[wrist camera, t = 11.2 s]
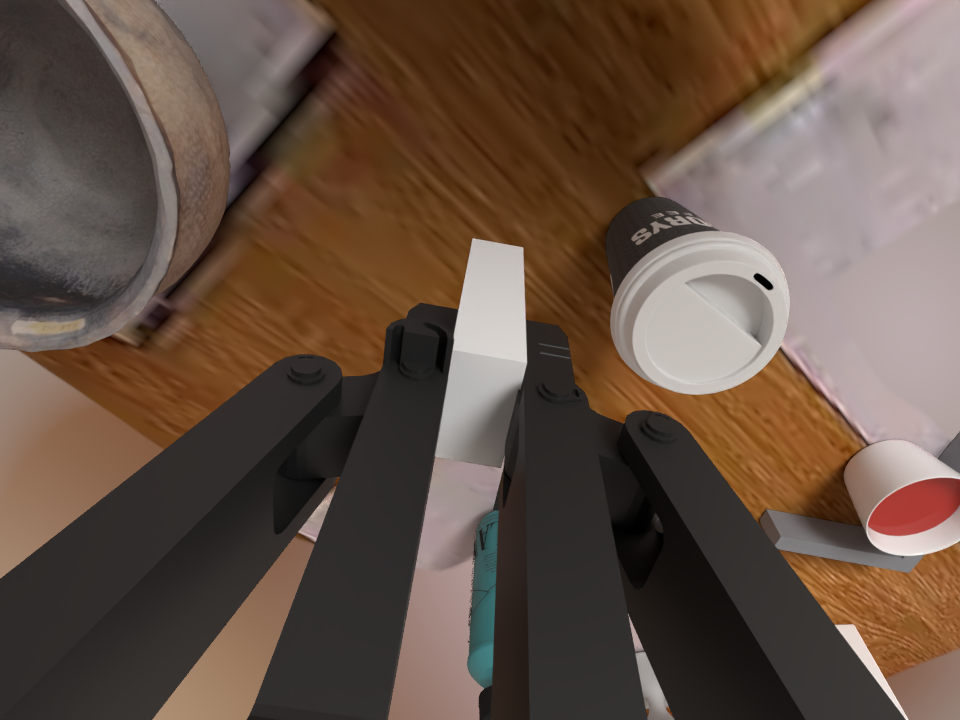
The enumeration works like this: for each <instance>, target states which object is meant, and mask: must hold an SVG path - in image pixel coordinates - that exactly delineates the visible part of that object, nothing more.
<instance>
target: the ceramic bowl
mask: <svg viewBox="0 0 960 720" xmlns="http://www.w3.org/2000/svg"><path fill="white" fill-rule="evenodd" d="M229 156H230V150H229V143H228V136H227V132H226V127H225V123H224V119H223V116H222V113H221V110H220V107H219V104H218V101H217V98H216V95H215V93H214V91H213V89H212V86H211V84H210V82H209V80H208V78H207V75H206V74H205V72H204V70H203V68H202V66H201V64H200V62H199V60H198V58H197V57H196V55H195V53H194V52H193V50H192V48H191V47H190V45H189V44H188V42H187V40H186V39H185V37H184V36H183V34H182V33H181V31H180V30H179V29H178V27H177V26H176V25H175V23H174V22H173V21H172V20H171V18H170V17H169V16H168V15H167V14H166V13H165V12H164V11H163V10H162V9H161V8H160V7H159V6H158V5H157V4H156V3H155V2H154V1H153V0H0V349H12V350H21V351H27V352H36V351H45V350H60V349H71V348H76V347H82V346H87V345H89V344H91V343H93V342H95V341H98V340H101V339H103V338H106V337H108V336H110V335H112V334H114V333H116V332H118V331H120V330H121V329H122V328H123V327H124V326H125V325H126V324H127V323H128V322H129V321H130V320H132V319H133V318H135V317H136V316H137V315H138V314H139V313H140V312H141V311H142V310H143V309H144V308H145V306H146V305H147V303H148V302H149V301H150V299H151V298H152V297H153V296H155V295H157V294H159V293H161V292H163V291H164V290H165V289H167V288H168V287H169V286H171V285H173V284H174V283H176V282H177V281H178V280H179V279H180V278H181V277H182V276H183V274H184V273H185V272H186V271H187V270H188V269H189V268H190V267H191V266H192V265H193V263H194V262H195V261H196V260H197V259H198V258H199V256H200V255H201V254H202V252H203V251H204V250H205V248H206V247H207V245H208V244H209V242H210V241H211V239H212V237H213V235H214V234H215V232H216V230H217V228H218V226H219V224H220V221H221V219H222V216H223V214H224V211H225V207H226V202H227V196H228V189H229V178H230V162H229Z"/></svg>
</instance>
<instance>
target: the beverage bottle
mask: <svg viewBox="0 0 960 720" xmlns="http://www.w3.org/2000/svg"><path fill="white" fill-rule="evenodd" d="M498 513H499V510H498V511H494V512H491V513H489V514H488V515H486V516H485V517H484V518H483V519H482V520H481V521H480V523H479V526H477V527H478V528H477V531H476V530H475V531H476V541H475V540H474V552H473V553H474V554H473V557H474V556H475V558H474V559H475V563H474V577H473V578H474V579H473V588H472V589H473V590H472V591H473V593H472V604H471V605H472V608H471V609H470V611H471V613H470V616H471V623H470V624H469V625H470V644H469V656H468V662H467V666H468V670H469V673H470V675H471V676H472V677H473V679H474V680H475V681H476V682H477V683H479V685H480V686H482V687H483V688H484V690H483V691H482V692H481V693H480V695H479V711H480V712H479V713H480V720H491V697H492V671H493V645H494V618H495V592H496V566H497V539H498ZM474 538H475V537H474ZM475 543H476V545H475ZM474 559H473V560H474ZM470 616H469V618H470ZM468 642H469V641H468Z"/></svg>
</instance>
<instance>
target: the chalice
mask: <svg viewBox="0 0 960 720" xmlns="http://www.w3.org/2000/svg"><path fill="white" fill-rule="evenodd" d="M635 654H636V659H637V665H638V670H639V675H640V681H641V686H642V692H643V697H644V702H645V708H646V709H649V715H648V717H647V718H648V720H674V718H673V717H672V716H671V715H670V714H669V713H668V712H667V710H666V707H669V706H668V704H667V701H666V699H665V697H664V694H663V692H662V690H661V688H660V685H659V683H658V681H657V678H656V676H655V674H654V671H653V669H652V667H651V665H650V662H649V660H648V658H647V655H646V653H645V652H638V653H635Z"/></svg>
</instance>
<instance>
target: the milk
mask: <svg viewBox="0 0 960 720" xmlns="http://www.w3.org/2000/svg"><path fill="white" fill-rule="evenodd" d="M835 626H836V627H837V629H838V630H839V631H840V633H841V634H842V635H843V637H844V638H845V639H846V641H847V642H848V643H849V645H850V646H851V647H852V649H853V650H854V651H855V653H856V654H857V655H858V657H859V658H860V659H861V661H862V662H863V663H864V665H865V666H866V667H867V669H868V670H869V671H870V673H871V674H872V675H873V677H874V678H875V679H876V681H877V682H878V683H879V685H880V686H881V687H882V689H883V690H884V691H885V693H886V694H887V695H888V697H889V698H890V699H891V700H892V702H893V703H894V704H895V706H896V707H897V708H898V710H899V711H900V712H901V714H902V715H903V716H904V718H905V719H906V720H908V718H907V716H906V715H905V713H904V711H903V709H902V708H901V706H900V705H899V702H898V701H897V699H896V697H895V695H894V694H893V692H892V690H891V688H890V687H889V685H888V683H887V682H886V680H885V678H884V676H883V675H882V673H881V671H880V669H879V668H878V666H877V664H876V662H875V661H874V659H873V657H872V655H871V654H870V652H869V650H868V648H867V647H866V645H865V643H864V641H863V640H862V638H861V636H860V634H859V633H858V631H857V629H856V627H855V626H854V625H853V624H849V625H835Z"/></svg>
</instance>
